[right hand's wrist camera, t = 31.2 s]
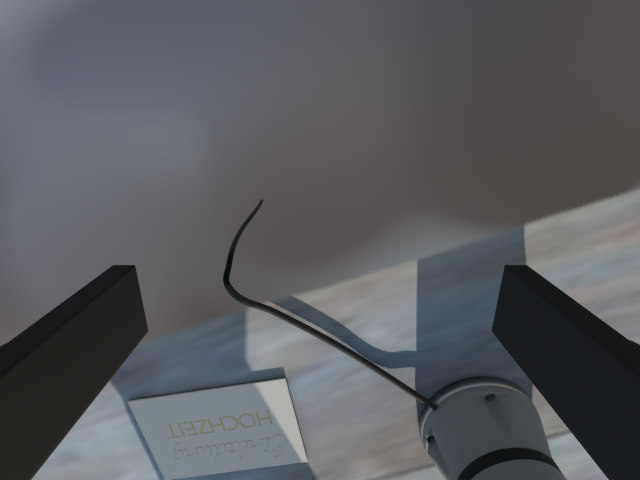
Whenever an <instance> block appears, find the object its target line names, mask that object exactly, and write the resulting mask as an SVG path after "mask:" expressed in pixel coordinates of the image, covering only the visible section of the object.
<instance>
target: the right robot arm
mask: <svg viewBox="0 0 640 480" xmlns="http://www.w3.org/2000/svg"><path fill="white" fill-rule="evenodd" d="M262 203H263V200H262V199H261V200H260V202H259V203H258V205H257V206H256V208H255V209H254V210H253V212H252V213H251V214H250V215H249V217H248V218H247V219H246V221H245V222H244V223H243V224H242V226H241V227H240V229H239V231H238V232H237V234H236V236H235V238H234V240H233V242H232V244H231V247H230V250H229V253H228V258H227V262H226V267H225V271H224V274H223V283H224V286H225V288H226V290H227V291H228V293H229V294H230V295H231V296H232V297H233V298H235V299H236V300H237V301H239V302H241V303H243V304H245V305H247V306H250V307H253V308H256V309H259V310H262V311H265V312H267V313H270V314H272V315H274V316H276V317H278V318H280V319H282V320H284V321H286V322H288V323H290V324H292V325H294V326H296V327H298V328H300V329H302V330H304V331H306V332H308V333H310V334H312V335H313V336H315V337H317V338H319V339H321V340H323V341H324V342H326V343H328V344H330V345H332V346H333V347H335V348H337V349H339V350H340V351H342V352H344V353H345V354H347V355H349V356H350V357H352V358H354V359H355V360H357V361H359V362H360V363H362V364H364V365H365V366H367V367H368V368H370V369H371V370H373V371H375V372H376V373H378V374H379V375H381V376H382V377H384V378H386V379H387V380H389V381H390V382H392V383H393V384H395V385H396V386H398V387H399V388H401V389H402V390H404V391H405V392H407V393H408V394H410V395H411V396H413V397H414V398H416V399H417V400H419V401H421V402H422V403H424V404H425V405H426V406H425V408H424V410H423V412H422V414H421V417H420V421H419V432H420V436H421V439H422V442H423V445H424V448H425V450H426V452H427V454H428V455H429V457H430V459H431V460H432V461H433V463H434V464H435V465H436V467H437V468H438V470H439V471H440V472H441V474H442V475H443V477H444V478H445V479H446V480H566V478H565V477H564V475H563V474H562V472H561V471H560V469H559V468H558V466H557V465H556V463H555V462H554V460H553V459H552V456H551V453H550V450H549V446H548V443H547V440H546V436H545V433H544V430H543V426H542V423H541V420H540V417H539V414H538V412H537V410H536V408H535V406H534V404H533V403H532V402H531V400H530V399H529V398H528V396H527V395H526V394H525V392H524V391H523V390H521V389H520V388H519V387H518V386H516V385H514V384H512V383H510V382H508V381H505V380H502V379H498V378H490V377H479V378H471V379H466V380H463V381H459V382H457V383H454V384H452V385H450V386H448V387H446V388H444V389H443V390H441V391H440V392H438V393H437V394H436V395H435V396H434V397H433V398H432V399H431V400H428V399H427V398H425V397H424V396H422V395H421V394H419V393H417V392H416V391H414V390H413V389H411V388H410V387H408V386H407V385H405V384H404V383H402V382H401V381H399V380H398V379H396V378H395V377H393V376H392V375H390V374H389V373H387V372H386V371H384V370H382V369H381V368H379V367H378V366H376V365H375V364H373V363H372V362H370V361H368V360H367V359H365V358H364V357H362V356H360V355H359V354H357V353H356V352H354V351H352V350H351V349H349V348H347V347H346V346H344V345H342V344H340V343H339V342H337V341H335V340H333V339H332V338H330V337H328V336H326V335H325V334H323V333H321V332H319V331H317V330H315V329H314V328H312V327H310V326H308V325H306V324H304V323H302V322H300V321H298V320H296V319H294V318H292V317H290V316H288V315H286V314H284V313H282V312H280V311H278V310H276V309H274V308H272V307H270V306H267V305H264V304H261V303H258V302H255V301H252V300H250V299H247V298H245V297H243V296H242V295H240V294H239V293H238V292H237V291H235V289H234V288H233V287H232V286H231V284H230V281H229V276H230V272H231V268H232V262H233V256H234V252H235V249H236V246H237V243H238V240H239V238H240V236H241V234H242V232H243V231H244V229H245V228H246V226H247V225H248V223H249V222H250V221H251V219H252V218H253V217H254V215H255V214H256V213H257V211H258V210H259V208H260V207H261V205H262ZM147 332H148V327H147V322H146V318H145V313H144V308H143V303H142V298H141V293H140V288H139V283H138V278H137V273H136V268H135V265H113V266H112V267H110V268H109V269H108V270H106V271H105V272H103V273H102V274H101V275H99V276H98V277H97V278H95V279H94V280H93V281H91V282H90V283H89V284H87V285H86V286H84V287H83V288H82V289H80V290H79V291H78V292H76V293H75V294H73V295H72V296H71V297H69V298H68V299H67V300H65V301H64V302H63V303H61V304H60V305H59V306H57V307H56V308H54V309H53V310H52V311H50V312H49V313H48V314H46V315H45V316H44V317H42V318H41V319H40V320H38V321H37V322H35V323H34V324H33V325H31V326H30V327H29V328H27V329H26V330H25V331H23V332H22V333H20V334H19V335H18V336H16V337H15V338H14V339H12V340H11V341H10V342H8V343H6V344H4V345H2V346H0V480H31V479H32V478H33V477H34V475H35V474H36V473H37V472H38V470H39V469H40V468H41V466H42V465H43V464H44V463H45V461H46V460H47V459H48V458H49V456H50V455H51V454H52V453H53V451H54V450H55V449H56V447H57V446H58V445H59V444H60V442H61V441H62V440H63V439H64V437H65V436H66V435H67V433H68V432H69V431H70V430H71V428H72V427H73V426H74V425H75V423H76V422H77V421H78V420H79V418H80V417H81V416H82V414H83V413H84V412H85V411H86V409H87V408H88V407H89V406H90V404H91V403H92V402H93V401H94V399H95V398H96V397H97V395H98V394H99V393H100V392H101V390H102V389H103V388H104V387H105V385H106V384H107V383H108V382H109V380H110V379H111V378H112V376H113V375H114V374H115V373H116V371H117V370H118V369H119V368H120V366H121V365H122V364H123V363H124V361H125V360H126V359H127V357H128V356H129V355H130V354H131V352H132V351H133V350H134V349H135V347H136V346H137V345H138V344H139V342H140V341H141V340H142V338H143V337H144V336H145V335H146V333H147ZM492 332H493V333H494V335H495V336H496V337H497V338H498V340H499V341H500V342H501V344H502V345H503V346H504V347H505V349H506V350H507V351H508V352H509V354H510V355H511V356H512V357H513V359H514V360H515V361H516V363H517V364H518V365H519V366H520V368H521V369H522V370H523V371H524V373H525V374H526V375H527V376H528V378H529V379H530V380H531V382H532V383H533V384H534V385H535V387H536V388H537V389H538V390H539V392H540V393H541V394H542V395H543V397H544V398H545V399H546V401H547V402H548V403H549V404H550V406H551V407H552V408H553V409H554V411H555V412H556V413H557V414H558V416H559V417H560V418H561V420H562V421H563V422H564V423H565V425H566V426H567V427H568V428H569V430H570V431H571V432H572V433H573V435H574V436H575V437H576V439H577V440H578V441H579V442H580V444H581V445H582V446H583V447H584V449H585V450H586V451H587V453H588V454H589V455H590V456H591V458H592V459H593V460H594V461H595V463H596V464H597V465H598V466H599V468H600V469H601V470H602V472H603V473H604V474H605V475H606V477H607V478H608V479H609V480H640V345H639V344H637V343H635V342H633V341H631V340H628V339H626V338H625V337H624V336H622V335H621V334H620V333H618V332H617V331H616V330H614V329H613V328H611V327H610V326H609V325H607V324H606V323H605V322H603V321H602V320H601V319H599V318H598V317H596V316H595V315H594V314H592V313H591V312H590V311H588V310H587V309H586V308H584V307H583V306H581V305H580V304H579V303H577V302H576V301H575V300H573V299H572V298H571V297H569V296H568V295H567V294H565V293H564V292H562V291H561V290H560V289H558V288H557V287H556V286H554V285H553V284H552V283H550V282H549V281H547V280H546V279H545V278H543V277H542V276H541V275H539V274H538V273H537V272H535V271H534V270H532V269H531V268H530V267H528V266H527V265H505V268H504V273H503V278H502V283H501V288H500V293H499V298H498V303H497V308H496V313H495V318H494V322H493V327H492Z"/></svg>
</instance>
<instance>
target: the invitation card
mask: <svg viewBox="0 0 640 480" xmlns="http://www.w3.org/2000/svg"><path fill="white" fill-rule="evenodd" d="M128 404H129V407H130V409H131V411H132V413H133V415H134V417H135V419H136V421H137V423H138V425H139V427H140V429H141V432H142V434H143V436H144V438H145V440H146V442H147V444H148V446H149V448H150V450H151V452H152V454H153V457H154V459H155V461H156V463H157V465H158V467H159V469H160V471H161V473H162V475H163V477H164V480H172V479H180V478H187V477H195V476H203V475H210V474H218V473H226V472H233V471H241V470H249V469H256V468H264V467H272V466H279V465H287V464H295V463H302V462H308V460H307V456H306V452H305V448H304V445H303V441H302V437H301V434H300V430H299V426H298V422H297V419H296V415H295V411H294V408H293V404H292V400H291V396H290V393H289V389H288V385H287V382H286V378H280V379H274V380H267V381H260V382H253V383H246V384H239V385H233V386H226V387H219V388H212V389H205V390H198V391H192V392H185V393H178V394H171V395H164V396H158V397H151V398H144V399H137V400H130V401H128Z"/></svg>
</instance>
